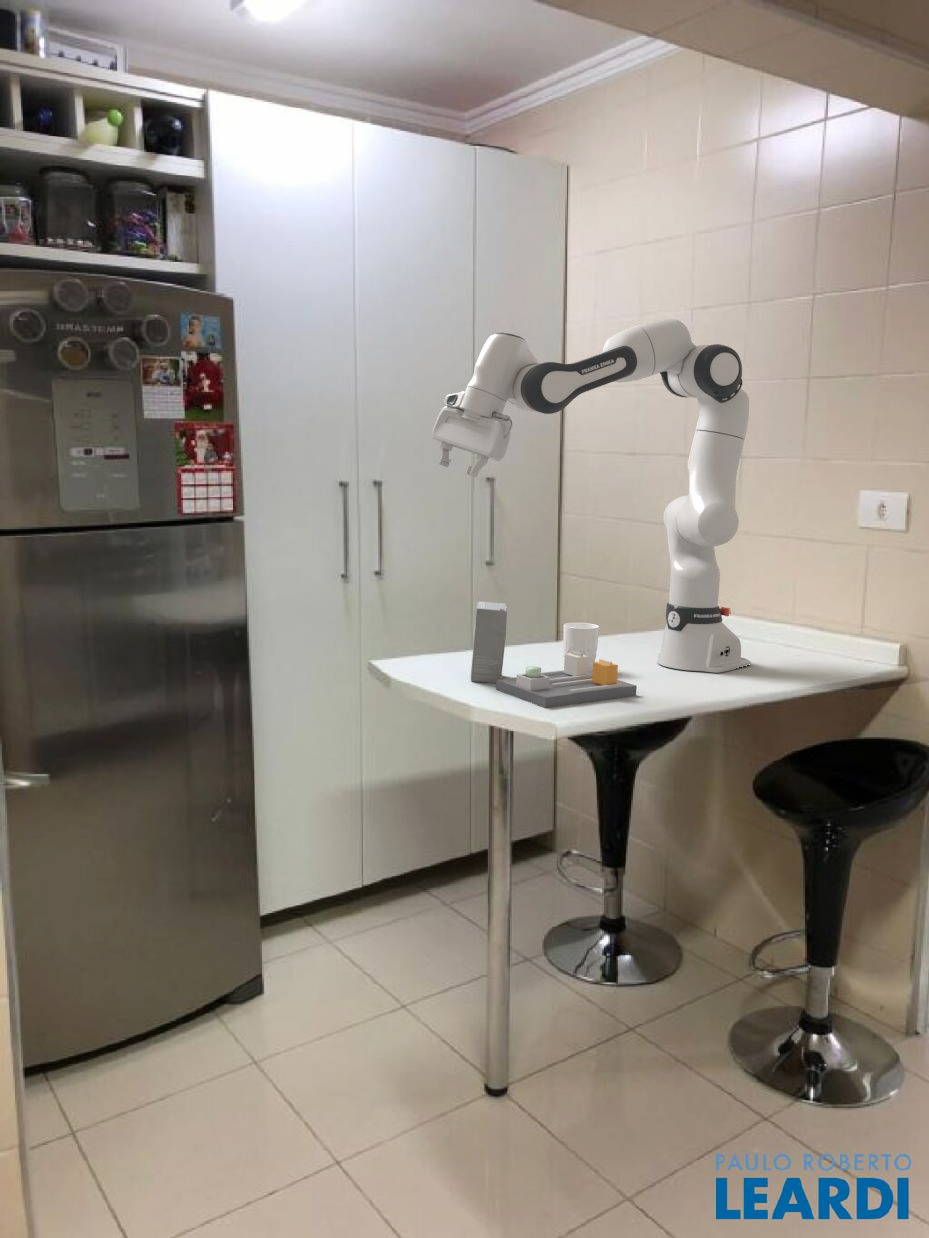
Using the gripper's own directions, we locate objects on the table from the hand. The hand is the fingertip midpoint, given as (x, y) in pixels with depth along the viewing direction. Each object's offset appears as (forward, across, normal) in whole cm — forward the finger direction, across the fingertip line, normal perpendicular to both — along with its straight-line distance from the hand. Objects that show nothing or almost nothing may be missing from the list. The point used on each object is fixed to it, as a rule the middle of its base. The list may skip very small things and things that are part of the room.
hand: (456, 470), depth 208 cm
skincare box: (+38, -17, -14) cm, 44 cm away
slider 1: (+30, -30, -24) cm, 49 cm away
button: (+32, -33, -9) cm, 47 cm away
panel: (+33, -34, -18) cm, 51 cm away
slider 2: (+29, -39, -22) cm, 54 cm away
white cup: (+31, -21, -37) cm, 52 cm away
